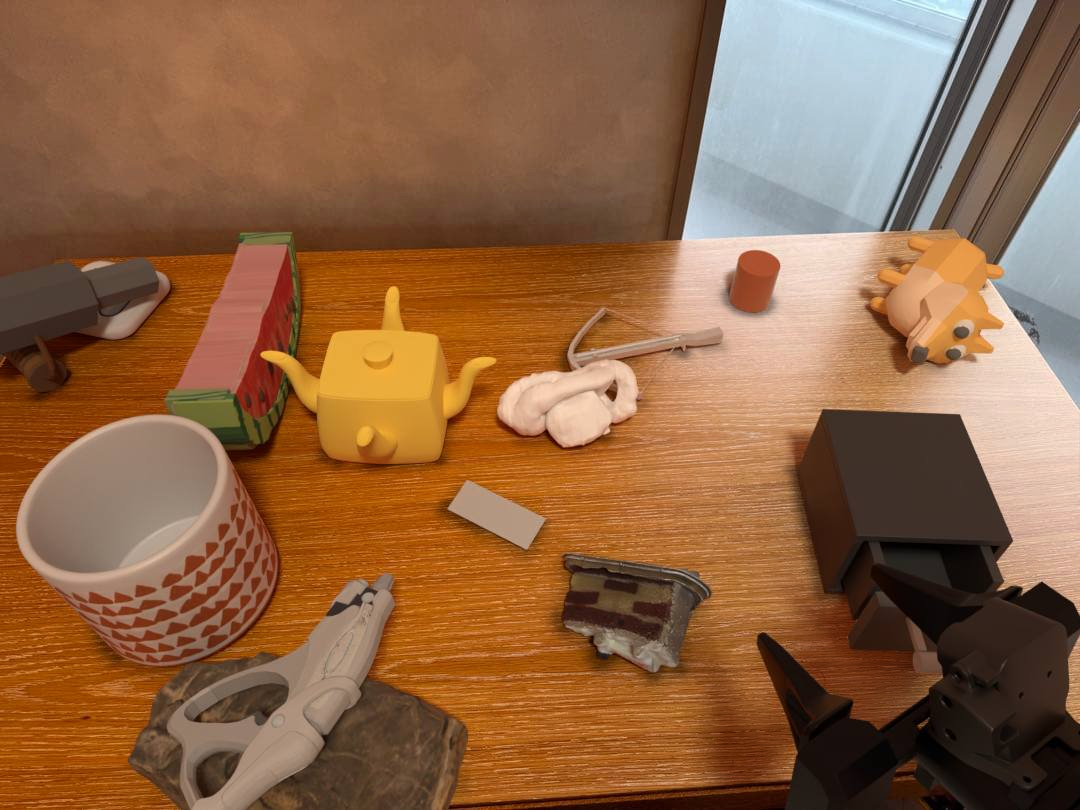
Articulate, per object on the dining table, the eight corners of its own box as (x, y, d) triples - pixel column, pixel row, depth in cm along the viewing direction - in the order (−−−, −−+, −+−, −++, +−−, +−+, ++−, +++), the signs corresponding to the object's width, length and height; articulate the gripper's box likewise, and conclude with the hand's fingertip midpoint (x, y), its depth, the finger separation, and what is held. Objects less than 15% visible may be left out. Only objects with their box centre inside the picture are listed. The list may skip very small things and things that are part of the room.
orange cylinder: (777, 300, 91) (789, 264, 87) (752, 318, 89) (763, 281, 85) (745, 281, 93) (755, 244, 89) (720, 297, 91) (729, 261, 87)
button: (174, 272, 89) (120, 333, 82) (179, 284, 90) (126, 345, 83) (90, 255, 90) (30, 314, 83) (96, 267, 91) (37, 327, 85)
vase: (193, 489, 71) (130, 388, 62) (315, 554, 66) (268, 455, 57) (62, 618, 64) (-32, 525, 54) (190, 703, 59) (111, 616, 49)
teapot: (499, 427, 77) (498, 352, 70) (377, 515, 70) (362, 441, 63) (399, 348, 84) (389, 272, 77) (279, 421, 77) (255, 345, 70)
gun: (323, 562, 63) (432, 604, 59) (132, 791, 51) (252, 865, 47) (311, 536, 61) (423, 578, 57) (109, 768, 49) (233, 843, 45)
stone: (251, 612, 64) (235, 579, 60) (491, 751, 57) (489, 723, 54) (117, 768, 56) (89, 741, 52) (377, 949, 50) (366, 933, 46)
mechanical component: (119, 227, 85) (126, 309, 91) (-75, 271, 73) (-52, 362, 79) (176, 273, 81) (179, 355, 87) (-19, 327, 69) (1, 418, 75)
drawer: (1004, 709, 60) (1049, 668, 55) (862, 704, 60) (895, 662, 55) (940, 527, 70) (973, 479, 65) (819, 523, 70) (843, 474, 65)
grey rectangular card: (447, 509, 71) (449, 512, 72) (526, 549, 68) (528, 553, 69) (467, 479, 72) (468, 483, 73) (546, 518, 69) (547, 522, 70)
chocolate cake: (525, 636, 64) (635, 649, 54) (553, 550, 67) (662, 548, 57) (611, 677, 68) (726, 696, 59) (634, 595, 71) (747, 601, 62)
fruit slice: (265, 492, 69) (238, 400, 63) (188, 494, 69) (153, 402, 62) (313, 314, 89) (297, 230, 83) (254, 315, 89) (233, 231, 82)
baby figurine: (480, 384, 75) (513, 468, 73) (593, 319, 72) (633, 405, 69) (521, 399, 83) (553, 476, 80) (625, 341, 79) (662, 419, 77)
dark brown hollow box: (966, 599, 67) (1014, 541, 60) (824, 594, 67) (857, 535, 60) (922, 475, 75) (960, 413, 69) (796, 471, 75) (822, 408, 69)
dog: (846, 294, 81) (983, 344, 74) (929, 207, 91) (1055, 244, 85) (831, 356, 86) (957, 408, 80) (911, 267, 97) (1028, 306, 90)
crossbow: (585, 415, 79) (585, 401, 78) (553, 328, 88) (553, 313, 86) (743, 383, 81) (746, 368, 80) (697, 300, 90) (699, 285, 88)
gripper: (1254, 618, 37) (953, 438, 48) (978, 851, 30) (700, 579, 41) (1161, 754, 44) (915, 569, 55) (917, 971, 37) (692, 709, 48)
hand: (817, 601), depth 50 cm, fingers open, 9 cm apart
